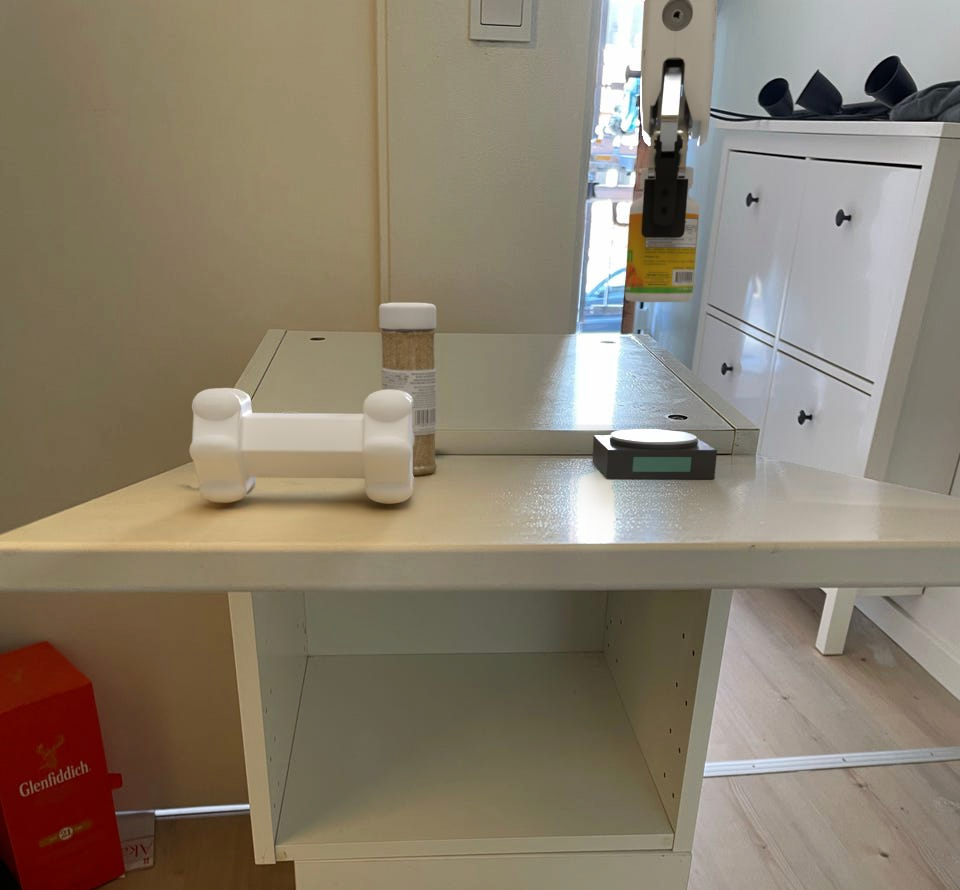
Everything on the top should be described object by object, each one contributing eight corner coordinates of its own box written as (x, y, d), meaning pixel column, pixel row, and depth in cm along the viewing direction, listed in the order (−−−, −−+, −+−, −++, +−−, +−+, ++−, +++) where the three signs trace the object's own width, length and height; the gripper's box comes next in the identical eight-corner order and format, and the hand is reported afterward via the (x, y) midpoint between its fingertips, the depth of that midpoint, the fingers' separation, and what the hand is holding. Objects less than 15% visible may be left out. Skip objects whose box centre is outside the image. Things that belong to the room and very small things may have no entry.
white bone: (191, 515, 67) (180, 392, 64) (219, 488, 75) (210, 379, 72) (411, 516, 67) (410, 394, 64) (415, 490, 75) (414, 381, 72)
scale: (691, 462, 88) (694, 429, 87) (714, 479, 81) (718, 442, 80) (592, 462, 87) (594, 428, 86) (606, 479, 80) (608, 442, 79)
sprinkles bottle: (420, 465, 85) (419, 302, 80) (446, 473, 81) (446, 303, 77) (373, 469, 83) (368, 302, 78) (398, 478, 79) (395, 303, 75)
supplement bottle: (626, 300, 81) (633, 172, 78) (692, 301, 80) (702, 171, 77) (622, 301, 76) (630, 164, 73) (692, 303, 76) (703, 163, 72)
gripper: (742, -75, 62) (715, 234, 68) (728, -3, 78) (708, 243, 84) (623, -68, 63) (608, 234, 70) (633, 1, 79) (620, 242, 85)
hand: (663, 236), depth 77 cm, fingers closed on supplement bottle, 5 cm apart
